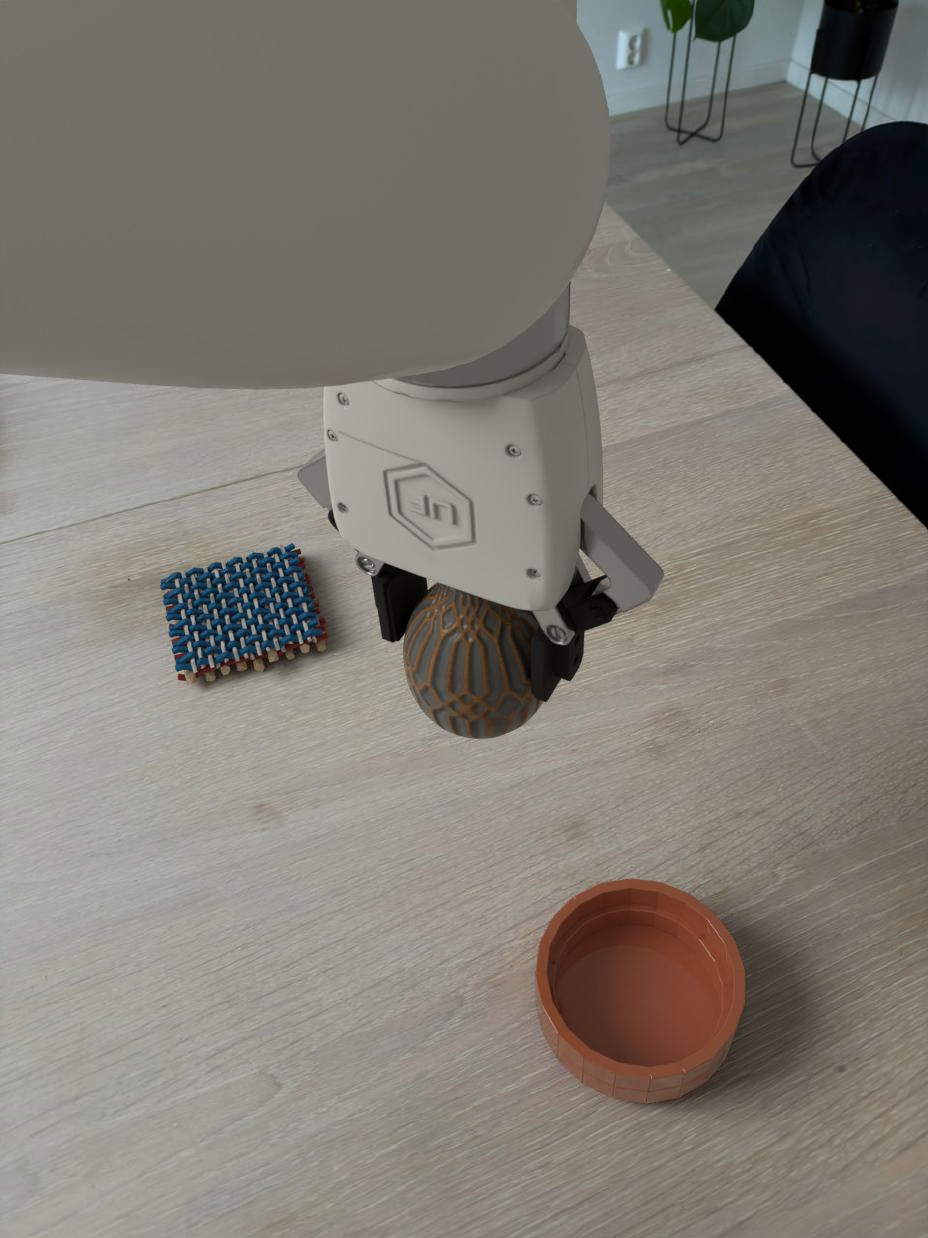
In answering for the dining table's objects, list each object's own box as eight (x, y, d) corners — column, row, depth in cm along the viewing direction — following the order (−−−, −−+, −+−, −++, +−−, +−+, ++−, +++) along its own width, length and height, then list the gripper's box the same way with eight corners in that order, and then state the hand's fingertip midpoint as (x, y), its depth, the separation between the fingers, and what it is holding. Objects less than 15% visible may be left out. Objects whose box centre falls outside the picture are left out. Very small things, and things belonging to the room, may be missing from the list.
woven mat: (335, 653, 75) (330, 633, 74) (182, 694, 74) (174, 675, 72) (303, 553, 82) (299, 534, 81) (162, 589, 80) (155, 570, 79)
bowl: (695, 1144, 53) (705, 1117, 50) (503, 1049, 57) (501, 1018, 54) (760, 961, 59) (772, 927, 56) (583, 885, 63) (585, 850, 60)
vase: (442, 783, 49) (428, 658, 43) (389, 676, 54) (369, 548, 47) (579, 731, 51) (585, 603, 44) (517, 631, 55) (514, 501, 49)
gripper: (179, 297, 37) (273, 641, 50) (660, 432, 31) (624, 783, 44) (303, 198, 41) (360, 539, 55) (747, 299, 35) (690, 656, 48)
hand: (478, 646), depth 49 cm, fingers closed on vase, 6 cm apart
